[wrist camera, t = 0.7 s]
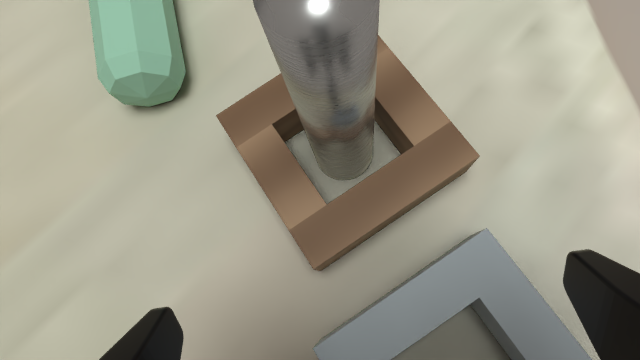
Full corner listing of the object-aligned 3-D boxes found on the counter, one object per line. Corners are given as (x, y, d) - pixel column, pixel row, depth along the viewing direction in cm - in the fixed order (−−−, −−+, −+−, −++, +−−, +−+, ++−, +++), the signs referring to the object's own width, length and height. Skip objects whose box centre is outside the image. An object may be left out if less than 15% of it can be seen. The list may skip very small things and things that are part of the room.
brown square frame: (465, 172, 23) (479, 155, 20) (320, 271, 22) (313, 269, 20) (364, 48, 26) (364, 19, 23) (233, 134, 25) (215, 115, 22)
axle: (384, 159, 24) (406, -7, 10) (336, 191, 23) (295, 66, 10) (351, 116, 25) (332, -88, 11) (305, 146, 24) (229, -23, 11)
